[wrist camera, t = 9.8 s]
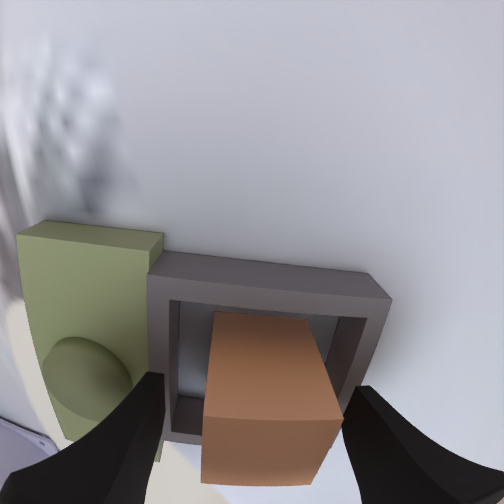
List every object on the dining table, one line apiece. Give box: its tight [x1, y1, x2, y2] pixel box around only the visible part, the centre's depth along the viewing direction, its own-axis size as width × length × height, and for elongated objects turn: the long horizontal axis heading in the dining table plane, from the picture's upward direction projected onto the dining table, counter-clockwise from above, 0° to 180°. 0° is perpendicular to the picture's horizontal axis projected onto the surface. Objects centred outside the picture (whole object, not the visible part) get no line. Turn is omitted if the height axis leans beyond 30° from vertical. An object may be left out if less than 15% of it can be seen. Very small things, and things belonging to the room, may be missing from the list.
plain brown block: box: [201, 311, 344, 486], centre depth 11 cm, size 4×4×6 cm
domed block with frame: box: [16, 221, 393, 462], centre depth 13 cm, size 14×12×3 cm
